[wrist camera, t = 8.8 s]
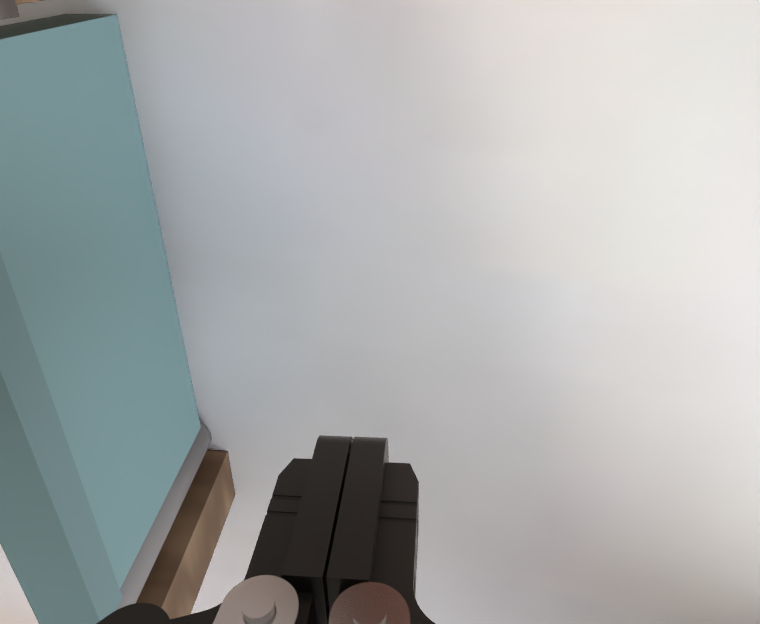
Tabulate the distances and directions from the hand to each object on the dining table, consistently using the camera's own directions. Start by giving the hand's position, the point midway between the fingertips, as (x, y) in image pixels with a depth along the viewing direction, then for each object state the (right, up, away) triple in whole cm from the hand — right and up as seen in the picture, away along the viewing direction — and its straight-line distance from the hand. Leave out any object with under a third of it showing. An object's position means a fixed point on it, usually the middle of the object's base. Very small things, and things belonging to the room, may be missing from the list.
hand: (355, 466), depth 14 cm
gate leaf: (-8, +5, +10) cm, 13 cm away
